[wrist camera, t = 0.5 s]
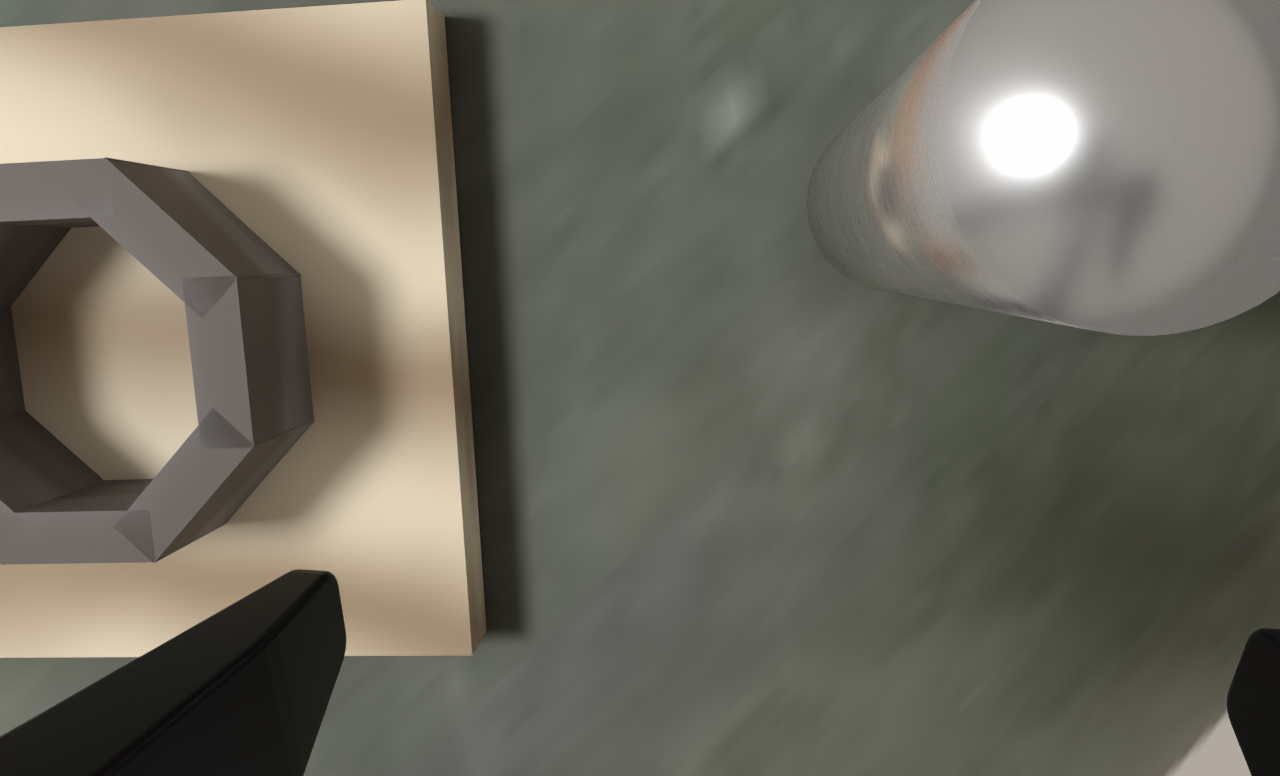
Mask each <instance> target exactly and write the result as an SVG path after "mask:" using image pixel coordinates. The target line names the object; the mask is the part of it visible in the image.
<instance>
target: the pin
mask: <svg viewBox="0 0 1280 776" xmlns="http://www.w3.org/2000/svg"><path fill="white" fill-rule="evenodd" d="M807 208H808V218H809V223H810V228H811V231H812V234H813V236H814V239H815V241H816V243H817V245H818V247H819V249H820V251H821V252H822V253H823V255H824V256H825V258H826V259H827V260H828V261H829V262H830V263H831V265H832V266H833V267H834V268H835V269H837V270H838V271H839V272H840V273H841V274H843V275H844V276H846V277H847V278H849V279H851V280H852V281H854V282H856V283H859V284H861V285H863V286H866V287H870V288H873V289H877V290H882V291H888V292H893V293H898V294H903V295H909V296H914V297H919V298H924V299H930V300H935V301H940V302H945V303H951V304H956V305H961V306H966V307H972V308H977V309H982V310H987V311H993V312H998V313H1003V314H1008V315H1014V316H1019V317H1024V318H1029V319H1035V320H1040V321H1045V322H1050V323H1056V324H1061V325H1066V326H1071V327H1076V328H1082V329H1087V330H1092V331H1098V332H1105V333H1111V334H1117V335H1133V336H1154V335H1165V334H1175V333H1181V332H1186V331H1190V330H1195V329H1199V328H1204V327H1207V326H1210V325H1213V324H1216V323H1219V322H1222V321H1224V320H1227V319H1230V318H1233V317H1235V316H1237V315H1239V314H1241V313H1243V312H1245V311H1247V310H1249V309H1251V308H1253V307H1255V306H1258V305H1260V304H1261V303H1263V302H1264V301H1266V300H1267V299H1269V298H1270V297H1272V296H1274V295H1275V294H1277V293H1278V292H1280V0H976V1H975V2H974V3H973V4H972V5H971V6H970V7H969V8H968V9H967V10H966V11H965V12H963V13H962V14H961V15H960V16H959V17H958V18H957V19H956V20H955V21H954V22H953V23H952V24H951V25H950V26H949V27H948V28H947V29H946V30H945V31H944V32H943V33H942V34H941V35H940V36H939V37H938V38H937V39H936V40H935V41H934V42H933V43H932V44H931V45H930V46H928V47H927V48H926V49H925V50H924V51H923V52H922V53H921V54H920V55H919V56H918V57H917V58H916V59H915V60H914V61H913V62H912V63H911V64H910V65H909V66H908V67H907V68H906V69H905V70H904V71H903V72H902V73H901V74H900V75H899V76H898V77H897V78H896V79H895V80H893V81H892V82H891V83H890V84H889V85H888V86H887V87H886V88H885V89H884V90H883V91H882V92H881V93H880V94H879V95H878V96H877V97H876V98H875V99H874V100H873V101H872V102H871V103H870V104H869V105H868V106H867V107H866V108H865V109H864V110H863V111H862V112H861V113H859V114H858V115H857V116H856V117H855V118H854V119H853V120H852V121H851V122H850V123H849V124H848V125H847V126H846V127H845V128H844V129H843V130H842V131H841V132H840V133H839V134H838V135H837V136H836V137H835V138H834V139H833V140H832V141H831V142H830V144H829V145H828V146H827V147H826V148H825V150H824V151H823V153H822V155H821V156H820V158H819V160H818V162H817V164H816V166H815V168H814V171H813V174H812V177H811V180H810V184H809V190H808V201H807Z"/></svg>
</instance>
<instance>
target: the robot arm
mask: <svg viewBox="0 0 1280 776" xmlns="http://www.w3.org/2000/svg"><path fill="white" fill-rule="evenodd" d="M345 651H346V629H345V623H344V617H343V610H342V604H341V598H340V591H339V585H338V582H337V579H336V577H335V575H333V574H332V573H331V572H329V571H320V570H304V569H296V570H292V571H290V572H288V573H286V574H284V575H282V576H281V577H279V578H277V579H275V580H274V581H272V582H270V583H268V584H267V585H265V586H263V587H261V588H260V589H258V590H256V591H254V592H253V593H251V594H249V595H247V596H245V597H244V598H242V599H240V600H238V601H237V602H235V603H233V604H231V605H230V606H228V607H226V608H224V609H223V610H221V611H219V612H217V613H216V614H214V615H212V616H210V617H209V618H207V619H205V620H203V621H202V622H200V623H198V624H196V625H195V626H193V627H191V628H189V629H188V630H186V631H184V632H182V633H181V634H179V635H177V636H175V637H174V638H172V639H170V640H168V641H167V642H165V643H163V644H161V645H160V646H158V647H156V648H154V649H153V650H151V651H149V652H147V653H146V654H144V655H142V656H140V657H139V658H137V659H135V660H133V661H132V662H130V663H128V664H126V665H125V666H123V667H121V668H119V669H118V670H116V671H114V672H112V673H111V674H109V675H107V676H105V677H104V678H102V679H100V680H98V681H97V682H95V683H93V684H91V685H90V686H88V687H86V688H84V689H83V690H81V691H79V692H77V693H76V694H74V695H72V696H70V697H69V698H67V699H65V700H63V701H62V702H60V703H58V704H56V705H55V706H53V707H51V708H49V709H48V710H46V711H44V712H42V713H40V714H39V715H37V716H35V717H33V718H32V719H30V720H28V721H26V722H25V723H23V724H21V725H19V726H18V727H16V728H14V729H12V730H11V731H9V732H7V733H5V734H4V735H2V736H0V776H303V775H304V772H305V769H306V766H307V763H308V760H309V758H310V755H311V752H312V749H313V746H314V743H315V740H316V737H317V735H318V732H319V729H320V726H321V723H322V720H323V717H324V714H325V711H326V709H327V706H328V703H329V700H330V697H331V694H332V691H333V688H334V685H335V683H336V680H337V677H338V674H339V671H340V668H341V665H342V662H343V659H344V655H345ZM1227 710H1228V715H1229V719H1230V722H1231V725H1232V727H1233V730H1234V732H1235V735H1236V737H1237V740H1238V742H1239V745H1240V747H1241V750H1242V752H1243V755H1244V757H1245V760H1246V762H1247V765H1248V767H1249V770H1250V772H1251V775H1252V776H1280V629H1268V628H1263V629H1259V630H1256V631H1255V632H1253V633H1252V634H1251V635H1250V636H1249V638H1248V640H1247V643H1246V645H1245V648H1244V651H1243V653H1242V656H1241V659H1240V662H1239V664H1238V667H1237V670H1236V672H1235V675H1234V678H1233V681H1232V683H1231V686H1230V689H1229V692H1228V697H1227Z"/></svg>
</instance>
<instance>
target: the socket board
mask: <svg viewBox="0 0 1280 776" xmlns="http://www.w3.org/2000/svg"><path fill="white" fill-rule="evenodd" d="M296 569H304V570H320V571H329V572H331V573H332V574H333V575H335V577H336V579H337V582H338V585H339V591H340V598H341V604H342V610H343V617H344V623H345V629H346V651H345V655H344V656H434V655H473V653H474V651H475V650H476V648H477V646H478V645H479V643H480V641H481V640H482V638H483V636H484V635H485V633H486V631H487V630H486V615H485V601H484V586H483V571H482V557H481V542H480V528H479V513H478V498H477V484H476V469H475V454H474V440H473V425H472V410H471V396H470V381H469V366H468V352H467V337H466V322H465V308H464V293H463V279H462V264H461V249H460V235H459V220H458V205H457V191H456V176H455V161H454V147H453V132H452V117H451V103H450V88H449V73H448V59H447V44H446V29H445V16H444V15H443V14H442V13H441V12H439V11H438V10H437V9H436V8H435V7H434V6H433V5H432V4H431V3H430V2H428V1H427V0H402V1H388V2H373V3H358V4H343V5H328V6H313V7H298V8H283V9H268V10H253V11H239V12H224V13H209V14H194V15H179V16H164V17H149V18H134V19H119V20H104V21H90V22H75V23H60V24H45V25H30V26H15V27H0V658H37V657H140V656H142V655H144V654H146V653H147V652H149V651H151V650H153V649H154V648H156V647H158V646H160V645H161V644H163V643H165V642H167V641H168V640H170V639H172V638H174V637H175V636H177V635H179V634H181V633H182V632H184V631H186V630H188V629H189V628H191V627H193V626H195V625H196V624H198V623H200V622H202V621H203V620H205V619H207V618H209V617H210V616H212V615H214V614H216V613H217V612H219V611H221V610H223V609H224V608H226V607H228V606H230V605H231V604H233V603H235V602H237V601H238V600H240V599H242V598H244V597H245V596H247V595H249V594H251V593H253V592H254V591H256V590H258V589H260V588H261V587H263V586H265V585H267V584H268V583H270V582H272V581H274V580H275V579H277V578H279V577H281V576H282V575H284V574H286V573H288V572H290V571H292V570H296Z"/></svg>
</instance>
